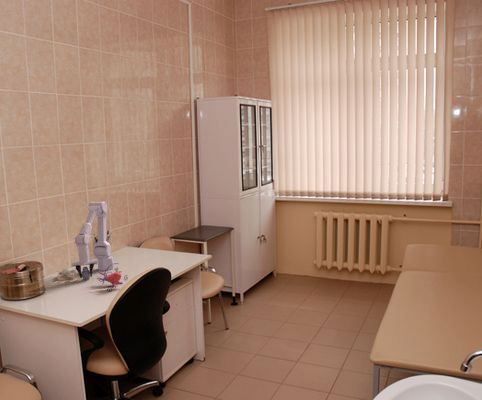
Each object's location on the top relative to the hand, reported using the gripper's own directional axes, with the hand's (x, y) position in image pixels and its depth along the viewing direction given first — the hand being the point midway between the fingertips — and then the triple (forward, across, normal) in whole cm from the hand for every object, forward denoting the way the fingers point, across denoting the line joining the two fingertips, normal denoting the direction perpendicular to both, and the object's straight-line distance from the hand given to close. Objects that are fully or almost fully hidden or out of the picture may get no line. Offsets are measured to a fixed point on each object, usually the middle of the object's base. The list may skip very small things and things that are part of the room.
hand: (86, 277), depth 281 cm
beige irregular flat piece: (+2, -7, +4) cm, 8 cm away
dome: (+2, -12, +8) cm, 15 cm away
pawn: (+1, 0, 0) cm, 1 cm away
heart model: (+3, +15, -18) cm, 24 cm away
